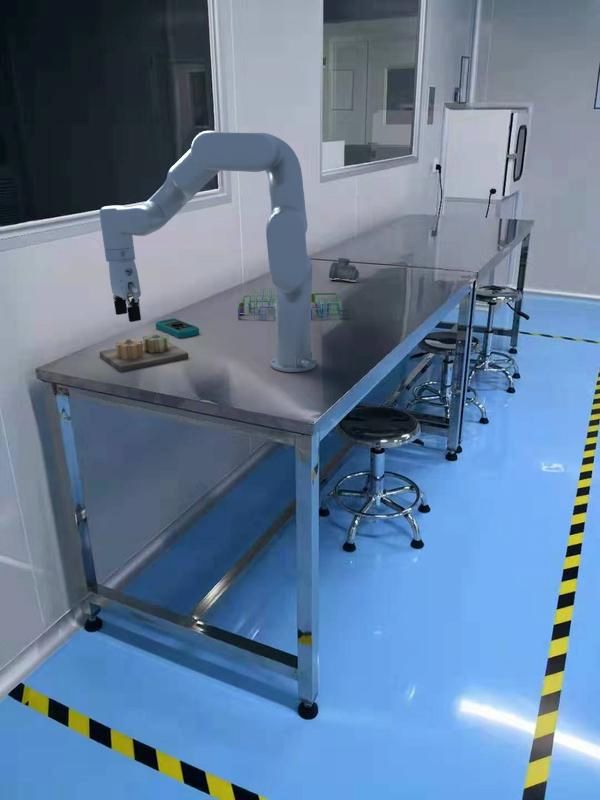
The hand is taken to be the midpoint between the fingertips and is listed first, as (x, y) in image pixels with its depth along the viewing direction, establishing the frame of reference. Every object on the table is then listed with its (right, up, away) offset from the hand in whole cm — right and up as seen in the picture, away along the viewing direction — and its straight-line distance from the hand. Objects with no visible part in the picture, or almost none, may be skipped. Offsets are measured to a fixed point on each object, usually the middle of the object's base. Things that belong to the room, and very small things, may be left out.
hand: (128, 317), depth 177 cm
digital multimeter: (+8, -1, +31) cm, 32 cm away
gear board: (+3, -11, +7) cm, 13 cm away
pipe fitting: (+66, +28, +102) cm, 125 cm away
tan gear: (-1, -10, +4) cm, 11 cm away
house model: (+43, +10, +58) cm, 73 cm away
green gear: (+6, -8, +8) cm, 13 cm away
